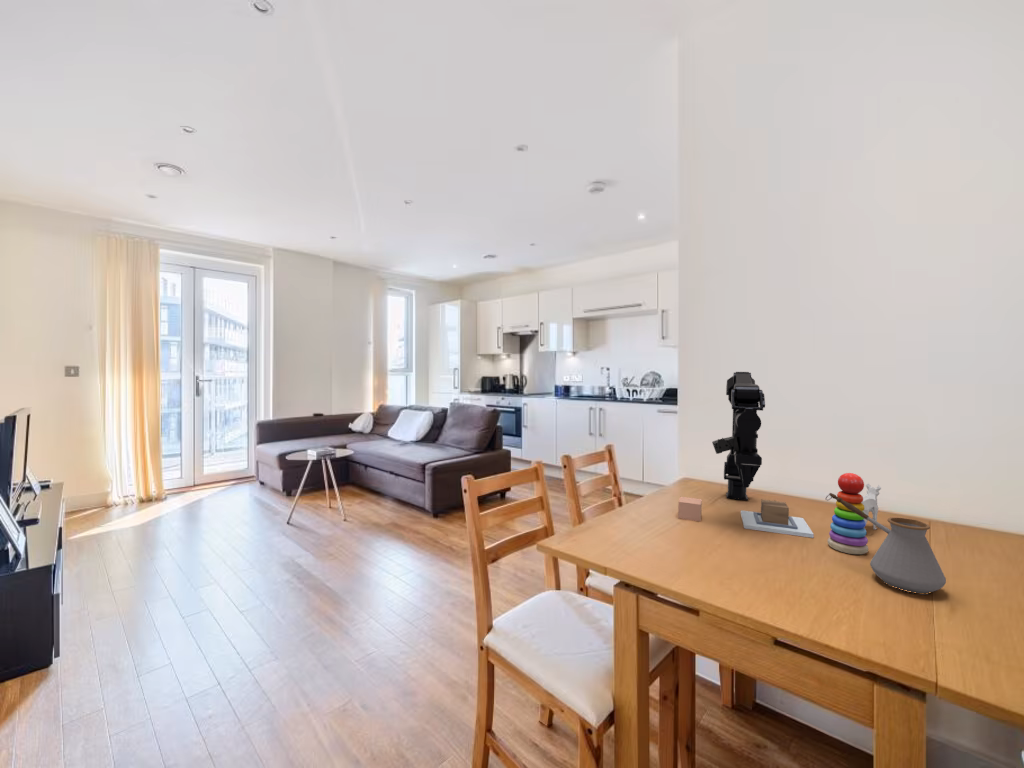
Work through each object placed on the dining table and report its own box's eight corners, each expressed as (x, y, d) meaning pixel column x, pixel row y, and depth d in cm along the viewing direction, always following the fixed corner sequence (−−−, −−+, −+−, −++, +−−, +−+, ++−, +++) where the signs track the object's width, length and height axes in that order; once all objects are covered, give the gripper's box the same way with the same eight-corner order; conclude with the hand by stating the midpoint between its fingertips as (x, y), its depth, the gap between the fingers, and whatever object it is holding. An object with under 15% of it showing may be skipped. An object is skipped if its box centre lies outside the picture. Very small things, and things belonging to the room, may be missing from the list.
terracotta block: (679, 512, 134) (680, 496, 134) (701, 515, 132) (701, 499, 131) (678, 518, 129) (678, 501, 129) (700, 521, 126) (700, 504, 126)
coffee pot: (958, 593, 86) (961, 517, 86) (926, 604, 82) (929, 524, 81) (840, 551, 106) (842, 489, 105) (809, 559, 101) (811, 494, 101)
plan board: (740, 513, 134) (740, 508, 133) (802, 521, 127) (803, 515, 127) (744, 528, 121) (744, 522, 121) (813, 537, 114) (813, 531, 114)
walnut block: (760, 516, 128) (761, 499, 128) (784, 519, 125) (785, 502, 125) (763, 522, 122) (763, 505, 122) (788, 526, 120) (788, 508, 120)
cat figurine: (884, 526, 124) (885, 476, 123) (855, 541, 113) (857, 486, 112) (864, 521, 127) (866, 473, 127) (835, 535, 116) (837, 482, 116)
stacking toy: (820, 545, 109) (822, 470, 109) (839, 540, 112) (841, 468, 112) (856, 558, 102) (858, 478, 101) (875, 552, 105) (878, 474, 105)
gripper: (712, 424, 137) (711, 474, 137) (716, 431, 120) (714, 488, 120) (753, 426, 133) (752, 477, 133) (762, 434, 115) (761, 493, 116)
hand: (744, 483), depth 126 cm, fingers open, 9 cm apart
